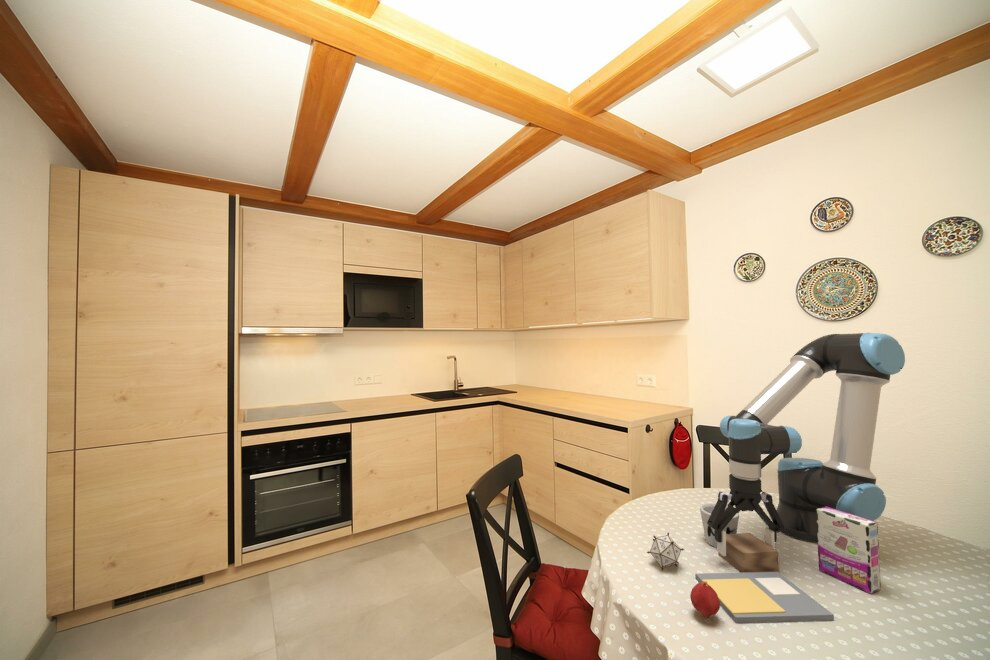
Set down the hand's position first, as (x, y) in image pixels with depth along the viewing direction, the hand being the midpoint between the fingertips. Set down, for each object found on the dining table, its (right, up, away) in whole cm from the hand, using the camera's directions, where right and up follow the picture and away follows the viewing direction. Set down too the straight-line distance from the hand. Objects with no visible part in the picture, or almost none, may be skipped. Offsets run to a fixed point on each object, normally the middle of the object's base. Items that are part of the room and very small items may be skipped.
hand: (745, 553), depth 106 cm
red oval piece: (-22, -2, -21) cm, 31 cm away
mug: (0, -3, +13) cm, 13 cm away
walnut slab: (0, -3, 0) cm, 3 cm away
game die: (-23, -3, -1) cm, 23 cm away
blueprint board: (-6, -2, -14) cm, 16 cm away
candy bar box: (+22, -3, -7) cm, 23 cm away
